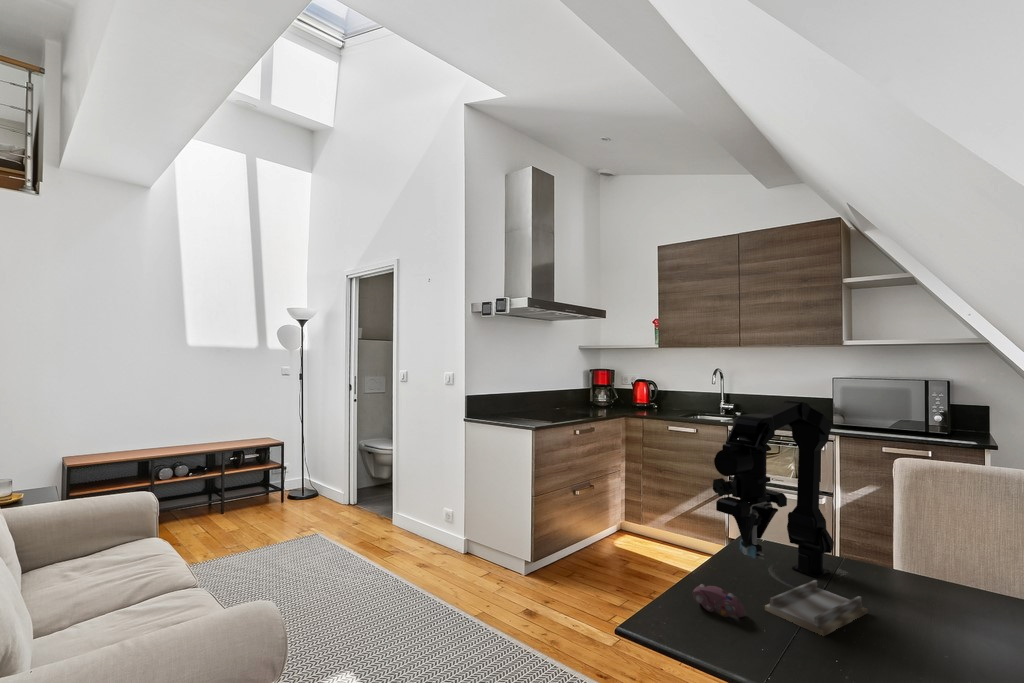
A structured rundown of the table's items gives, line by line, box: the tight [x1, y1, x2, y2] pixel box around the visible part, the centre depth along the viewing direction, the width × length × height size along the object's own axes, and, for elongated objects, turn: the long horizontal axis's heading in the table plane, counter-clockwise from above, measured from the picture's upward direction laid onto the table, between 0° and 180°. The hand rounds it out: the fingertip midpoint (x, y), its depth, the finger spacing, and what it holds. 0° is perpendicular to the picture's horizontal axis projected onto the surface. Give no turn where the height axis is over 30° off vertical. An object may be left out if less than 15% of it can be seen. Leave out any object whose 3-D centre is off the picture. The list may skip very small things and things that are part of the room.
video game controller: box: [691, 583, 746, 618], centre depth 110 cm, size 10×5×7 cm, turn 48°
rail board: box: [764, 579, 868, 637], centre depth 111 cm, size 18×12×3 cm, turn 123°
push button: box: [739, 509, 765, 560], centre depth 119 cm, size 7×5×10 cm
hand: (751, 540), depth 119 cm, fingers closed on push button, 4 cm apart
